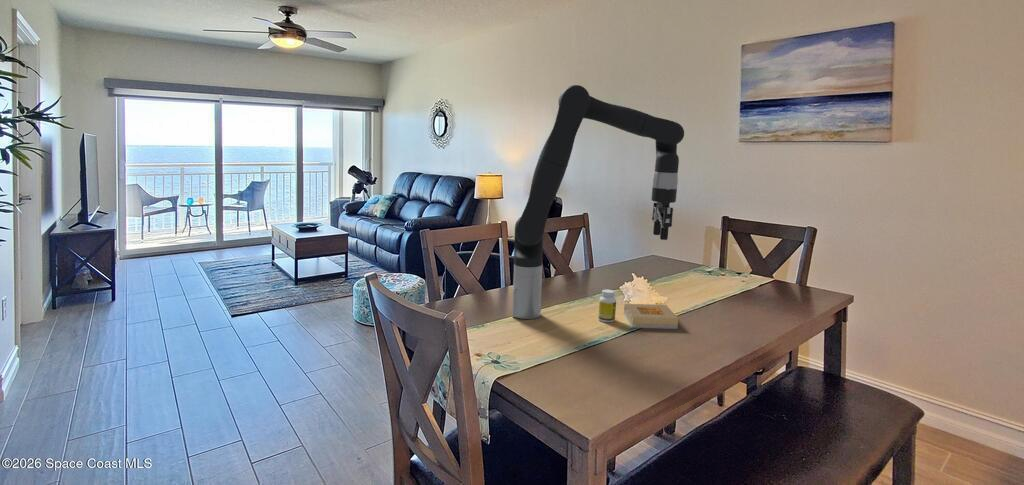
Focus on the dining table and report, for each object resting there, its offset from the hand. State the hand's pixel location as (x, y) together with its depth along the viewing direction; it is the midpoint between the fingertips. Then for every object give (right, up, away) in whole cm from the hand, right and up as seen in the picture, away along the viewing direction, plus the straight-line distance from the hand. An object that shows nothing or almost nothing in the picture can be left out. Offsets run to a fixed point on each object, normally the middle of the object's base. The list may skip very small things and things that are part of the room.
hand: (660, 237), depth 175 cm
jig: (-3, -27, +2) cm, 27 cm away
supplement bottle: (-17, -27, +2) cm, 32 cm away
